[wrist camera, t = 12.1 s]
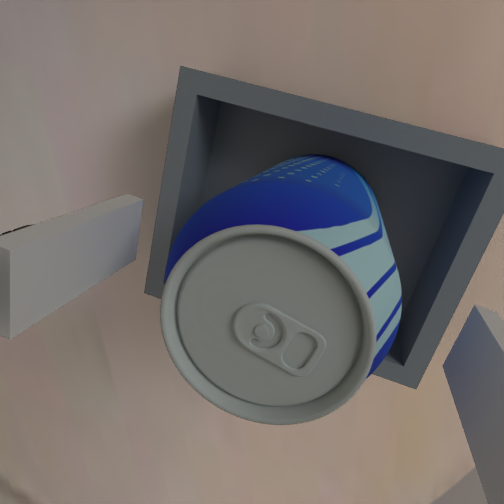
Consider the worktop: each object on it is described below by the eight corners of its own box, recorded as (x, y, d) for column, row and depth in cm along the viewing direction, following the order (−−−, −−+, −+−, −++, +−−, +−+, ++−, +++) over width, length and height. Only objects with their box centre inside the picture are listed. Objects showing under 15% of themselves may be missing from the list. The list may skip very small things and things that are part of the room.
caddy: (211, 76, 26) (180, 65, 21) (496, 149, 23) (532, 155, 19) (175, 267, 31) (144, 292, 26) (406, 346, 28) (416, 389, 24)
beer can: (281, 290, 29) (202, 467, 14) (233, 183, 27) (87, 254, 12) (396, 252, 26) (454, 423, 11) (350, 130, 24) (345, 138, 9)
